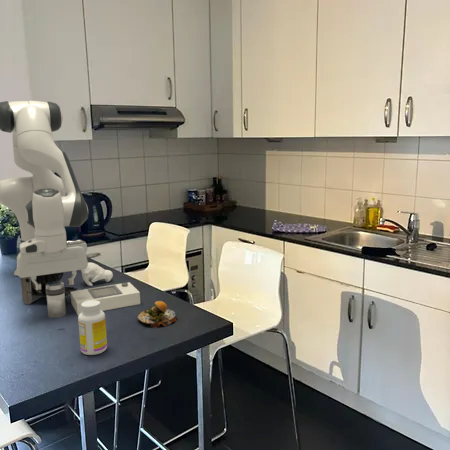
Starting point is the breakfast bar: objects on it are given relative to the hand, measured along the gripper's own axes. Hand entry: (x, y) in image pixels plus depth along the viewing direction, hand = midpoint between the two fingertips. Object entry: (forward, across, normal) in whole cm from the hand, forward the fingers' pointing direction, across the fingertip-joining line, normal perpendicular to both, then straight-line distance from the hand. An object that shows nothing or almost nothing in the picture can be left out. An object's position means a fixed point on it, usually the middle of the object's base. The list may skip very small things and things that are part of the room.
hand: (55, 286), depth 139 cm
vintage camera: (+9, 0, -14) cm, 17 cm away
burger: (+10, -26, +18) cm, 33 cm away
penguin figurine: (+9, -18, -26) cm, 32 cm away
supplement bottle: (+10, -5, +30) cm, 31 cm away
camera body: (+9, -16, -2) cm, 18 cm away
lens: (+9, 0, 0) cm, 9 cm away
